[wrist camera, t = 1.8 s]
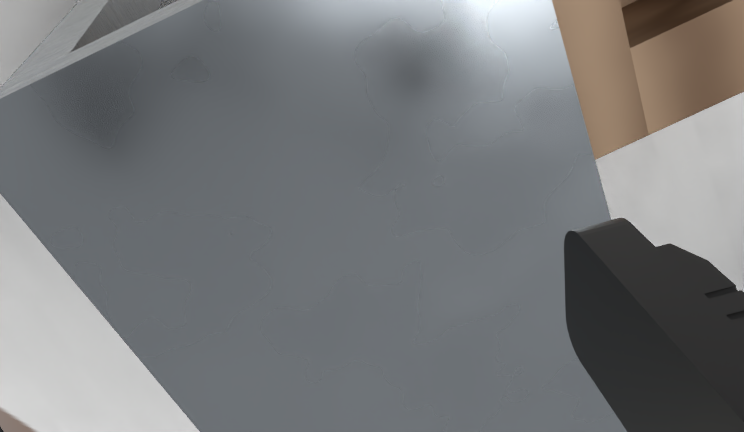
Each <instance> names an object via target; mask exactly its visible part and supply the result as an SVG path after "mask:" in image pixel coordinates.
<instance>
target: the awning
mask: <svg viewBox="0 0 744 432" xmlns="http://www.w3.org/2000/svg"><path fill="white" fill-rule="evenodd" d="M161 2H162V0H80V1H79V2H78V3H77V4H76V5H75V6H74V7H73V9H72V10H71V11H70V12H69V13H68V14H67V15H66V16H65V17H64V19H63V20H62V21H61V22H60V23H59V24H58V25H57V26H56V27H55V28H54V30H53V31H52V32H51V33H50V34H49V35H48V36H47V37H46V38H45V39H44V41H43V42H42V43H41V44H40V45H39V46H38V47H37V48H36V49H35V50H34V52H33V53H32V54H31V55H30V56H29V57H28V58H27V59H26V60H25V61H24V63H23V64H22V65H21V66H20V67H19V68H18V69H17V70H16V71H15V72H14V74H13V75H12V76H11V77H10V78H9V79H8V80H7V81H6V82H5V84H4V85H3V86H1V87H0V193H1V195H2V196H3V197H4V198H5V199H6V201H7V202H8V203H9V204H10V205H11V207H12V208H13V209H14V210H15V211H16V213H17V214H18V215H19V216H20V217H21V218H22V220H23V221H24V222H25V223H26V224H27V226H28V227H29V228H30V229H31V230H32V232H33V233H34V234H35V235H36V236H37V238H38V239H39V240H40V241H41V242H42V244H43V245H44V246H45V247H46V248H47V250H48V251H49V252H50V253H51V254H52V256H53V257H54V258H55V259H56V260H57V261H58V263H59V264H60V265H61V266H62V267H63V269H64V270H65V271H66V272H67V273H68V275H69V276H70V277H71V278H72V279H73V281H74V282H75V283H76V284H77V285H78V287H79V288H80V289H81V290H82V291H83V293H84V294H85V295H86V296H87V297H88V298H89V300H90V301H91V302H92V303H93V304H94V306H95V307H96V308H97V309H98V310H99V312H100V313H101V314H102V315H103V316H104V318H105V319H106V320H107V321H108V322H109V324H110V325H111V326H112V327H113V328H114V330H115V331H116V332H117V333H118V334H119V335H120V337H121V338H122V339H123V340H124V341H125V343H126V344H127V345H128V346H129V347H130V349H131V350H132V351H133V352H134V353H135V355H136V356H137V357H138V358H139V359H140V361H141V362H142V363H143V364H144V365H145V367H146V368H147V369H148V370H149V371H150V373H151V374H152V375H153V376H154V377H155V378H156V380H157V381H158V382H159V383H160V384H161V386H162V387H163V388H164V389H165V390H166V392H167V393H168V394H169V395H170V396H171V398H172V399H173V400H174V401H175V402H176V404H177V405H178V406H179V407H180V408H181V410H182V411H183V412H184V413H185V414H186V415H187V417H188V418H189V419H190V420H191V421H192V423H193V424H194V425H195V426H196V427H197V429H198V430H199V431H200V432H627V431H626V429H625V428H624V426H623V425H622V423H621V422H620V420H619V419H618V417H617V416H616V414H615V413H614V411H613V410H612V408H611V407H610V405H609V404H608V402H607V401H606V399H605V398H604V396H603V395H602V393H601V392H600V390H599V389H598V387H597V386H596V384H595V383H594V382H593V380H592V379H591V377H590V376H589V374H588V373H587V371H586V370H585V368H584V367H583V365H582V364H581V362H580V360H579V359H578V357H577V355H576V353H575V351H574V348H573V346H572V343H571V340H570V337H569V333H568V329H567V324H566V311H565V272H564V239H565V235H566V233H567V232H568V231H570V230H574V229H578V228H582V227H586V226H590V225H594V224H598V223H602V222H606V221H610V220H611V217H610V214H609V210H608V206H607V203H606V199H605V195H604V192H603V188H602V184H601V180H600V177H599V173H598V169H597V166H596V162H595V158H594V155H593V151H592V147H591V143H590V140H589V136H588V132H587V129H586V125H585V121H584V117H583V114H582V110H581V106H580V103H579V99H578V95H577V92H576V88H575V84H574V80H573V77H572V73H571V69H570V66H569V62H568V58H567V55H566V51H565V47H564V43H563V40H562V36H561V32H560V29H559V25H558V21H557V18H556V14H555V10H554V6H553V3H552V0H177V1H175V2H173V3H171V4H169V5H167V6H165V7H163V8H161V9H159V7H160V5H161Z"/></svg>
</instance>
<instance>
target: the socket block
mask: <svg viewBox="0 0 744 432" xmlns="http://www.w3.org/2000/svg"><path fill="white" fill-rule="evenodd" d="M552 3H553V6H554V10H555V14H556V18H557V21H558V25H559V29H560V32H561V36H562V40H563V43H564V47H565V51H566V55H567V58H568V62H569V66H570V69H571V73H572V77H573V80H574V84H575V88H576V92H577V95H578V99H579V103H580V106H581V110H582V114H583V117H584V121H585V125H586V129H587V132H588V136H589V140H590V143H591V147H592V151H593V155H594V158H595V160H596V159H598V158H600V157H602V156H604V155H606V154H609V153H611V152H613V151H615V150H617V149H619V148H622V147H624V146H626V145H628V144H630V143H633V142H635V141H637V140H639V139H641V138H643V137H646V136H648V135H650V134H652V133H654V132H657V131H659V130H661V129H663V128H665V127H667V126H670V125H672V124H674V123H676V122H678V121H680V120H683V119H685V118H687V117H689V116H691V115H694V114H696V113H698V112H700V111H702V110H704V109H707V108H709V107H711V106H713V105H715V104H718V103H720V102H722V101H724V100H726V99H728V98H731V97H733V96H735V95H737V94H739V93H742V92H744V0H552Z"/></svg>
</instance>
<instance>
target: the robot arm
mask: <svg viewBox="0 0 744 432" xmlns="http://www.w3.org/2000/svg"><path fill="white" fill-rule="evenodd" d="M564 272H565V311H566V324H567V329H568V333H569V337H570V340H571V343H572V346H573V348H574V351H575V353H576V355H577V357H578V359H579V360H580V362H581V364H582V365H583V367H584V368H585V370H586V371H587V373H588V374H589V376H590V377H591V379H592V380H593V382H594V383H595V384H596V386H597V387H598V389H599V390H600V392H601V393H602V395H603V396H604V398H605V399H606V401H607V402H608V404H609V405H610V407H611V408H612V410H613V411H614V413H615V414H616V416H617V417H618V419H619V420H620V422H621V423H622V425H623V426H624V428H625V429H626V431H627V432H744V292H742V291H741V290H740V291H737V289H736V285H735V284H734V283H732V282H731V281H730V280H729V279H728V278H727V277H726V276H725V275H723V274H722V273H721V272H720V271H719V270H718V269H717V268H716V267H714V266H713V265H712V264H711V263H710V262H709V261H707V260H705V259H703V258H701V257H699V256H696V255H694V254H692V253H690V252H688V251H685V250H683V249H681V248H679V247H677V246H674V245H672V244H666V245H662V246H658V247H655V246H654V245H653V244H652V243H651V242H650V241H649V240H648V239H647V238H646V237H645V236H644V235H642V234H641V233H640V232H639V231H638V230H637V229H636V228H635V227H634V226H633V225H632V224H631V223H630V222H629V221H628V220H626V219H624V218H618V219H614V220H610V221H606V222H602V223H598V224H594V225H590V226H586V227H582V228H578V229H574V230H570V231H568V232H567V233H566V235H565V239H564ZM0 432H3V430H2V429H1V427H0Z"/></svg>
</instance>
